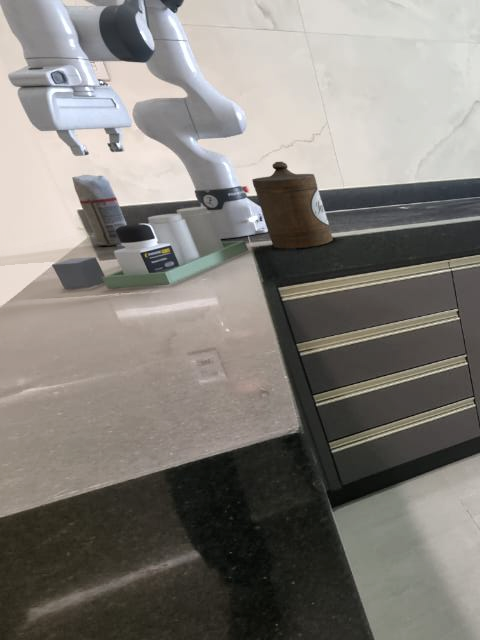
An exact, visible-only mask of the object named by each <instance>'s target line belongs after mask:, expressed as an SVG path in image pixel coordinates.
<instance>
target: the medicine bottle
mask: <svg viewBox="0 0 480 640" xmlns="http://www.w3.org/2000/svg"><path fill="white" fill-rule="evenodd" d="M115 231H116V233H117V235H118V237H119V240H120V242H121V244H122V246H125V248H123V249H119V250H118V249H116V250H114V251H113V254H114V257H115V258H116V260H117V262H118V265H119V267H120V269H121V270H122V271H123V273H124V275H129V274H143V273H157V272H165V271H168V270H170V269H173V268H175V267H178V266H180V265H179V263H178V260H177V258H176V256H175V253H174V251H173V249H172V246H171V244H157V241H158V240H157V237H156V235H155V233H154V230H153V228H152V226H151V225H149V224H148V223H132V224H127V225H124V226H120V227H118V228H117V229H116V230H115Z"/></svg>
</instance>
